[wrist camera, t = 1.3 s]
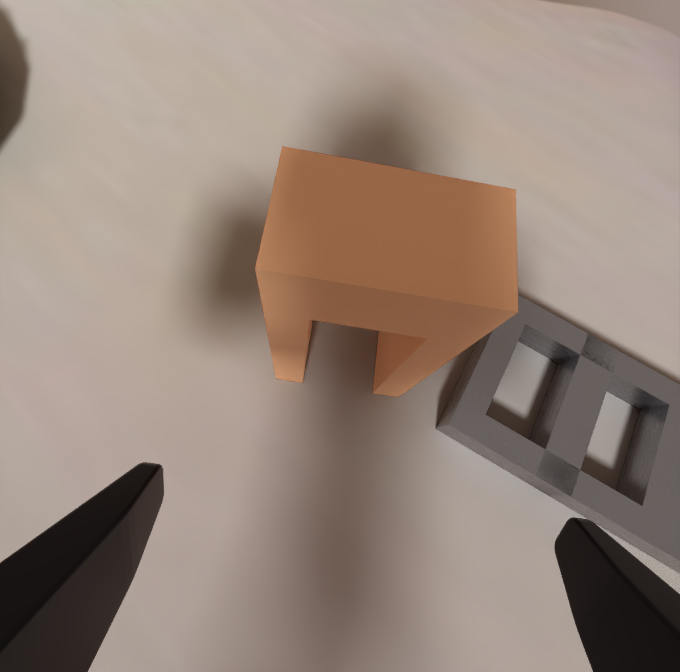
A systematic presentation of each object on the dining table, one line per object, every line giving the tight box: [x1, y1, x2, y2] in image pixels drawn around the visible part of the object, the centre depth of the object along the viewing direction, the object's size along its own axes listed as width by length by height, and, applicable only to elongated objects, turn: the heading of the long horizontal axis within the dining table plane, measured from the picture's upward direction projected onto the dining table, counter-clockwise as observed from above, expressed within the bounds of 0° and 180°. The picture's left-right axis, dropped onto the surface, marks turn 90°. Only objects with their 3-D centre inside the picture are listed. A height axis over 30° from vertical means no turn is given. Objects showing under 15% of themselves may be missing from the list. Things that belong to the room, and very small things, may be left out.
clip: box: [255, 146, 518, 397], centre depth 17 cm, size 7×4×13 cm, turn 83°
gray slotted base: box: [436, 295, 680, 573], centre depth 22 cm, size 20×9×2 cm, turn 60°
